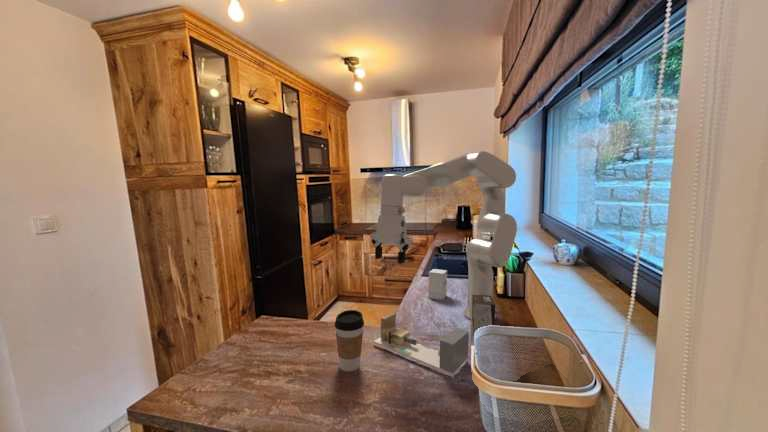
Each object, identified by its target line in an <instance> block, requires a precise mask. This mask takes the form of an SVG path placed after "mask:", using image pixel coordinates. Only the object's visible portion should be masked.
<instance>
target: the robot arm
mask: <svg viewBox="0 0 768 432" xmlns="http://www.w3.org/2000/svg"><path fill="white" fill-rule="evenodd" d="M473 176H475V182H476V184H477V186H478V188H479V189H480V191H481V194H482V205H481V208H480V210H479V211H480V212H479V215H478V218H477V223H476V230H477V231H478V233H479V234H481V235H483V236H486V237H492V239H489V238H482V237H475V238H472V239H471V240H470V241H469V242H468V243H467V245H466V251H465V252H466V258H467V266H468V274H467V275H468V276H467V279H468V280H467V308H464V309H463V316H464V317H466V319H468V320H471V308H472V295H491V297H492V299H493V295H494V293H493V291H494V290H493V289H494V269H493V267H495V268H502V267H504V266H506V265H507V264H508V262H509V260H510V258H511V254H512V251H513V247H514V243H515V240H516V238H517V237H516V236H517V231H518V224H517V220H516V218H515V217H514V216H513V215H511V214H509V213H504V211H505V206H506V196H505V194H504V192H503V190H502V189H507V188H511V187H512V186H513V185H514V184H515V182H516V180H517V173H516V170H515V169H514V167H512V166H511V165H510V164H508V163H507V162H506V161H504V160H502V159H501V158H499V157H498V156H497V155H494V154H492V153H490V152H487V151H484V150H483V151H476V152H471V153H464V154H461V155H460V156H457V157H455V158H451V159H449V160H446V161H443V162H439V163H437V164H434V165H431V166H428V167H426V168H422V169H420V170H417V171H413V172H411V173H408V174H405V175H403V176H402V175H400V174H385V175H383V176H381V187H380V188H381V189H380V191H381V195H380V214H378V218H377V224H376V231H373V232H372V233H370V235H369V236H370V240H371V243H372V244H373V247H374V248H375V249H374V252H375V253H374V259H375V260H380V259H382V258H383V245H384V244H385V245H390V246H396V247H397V249H398V250H399V251H398V252H397V264H400V265H402V264H404V263H405V261H406V252H407V251H408V249H409V248H410V247H411V245H412V243H413V241H414V240H413V238H412V237H410V236H409V235H407V224H406V217H405V215H403V213H405V212H406V208H404V205H403V204H404V198H420V197H422V196H424V195H425V194H426V193H427V191H428V189H431V188H441V187H445V186H450V185H452V184H455V183H456V182H460V181H462V180H465V179H467V178H470V177H473ZM496 318H497V314H496V313H495V320H496Z"/></svg>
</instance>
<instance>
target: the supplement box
mask: <svg viewBox="0 0 768 432" xmlns="http://www.w3.org/2000/svg"><path fill="white" fill-rule="evenodd" d="M427 281H428V284H427V285H428V287H427V288H428V290H427V292H428V293H427V298H428V299H433V300H437V301H438V300H439V301H443V300H444V299H445V298H446V297H447V290H448V289H447V288H448V287H447V286H448V269H447V270H446V269H439V268H432V269H431V270H430V271H429V272H428V280H427Z"/></svg>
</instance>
